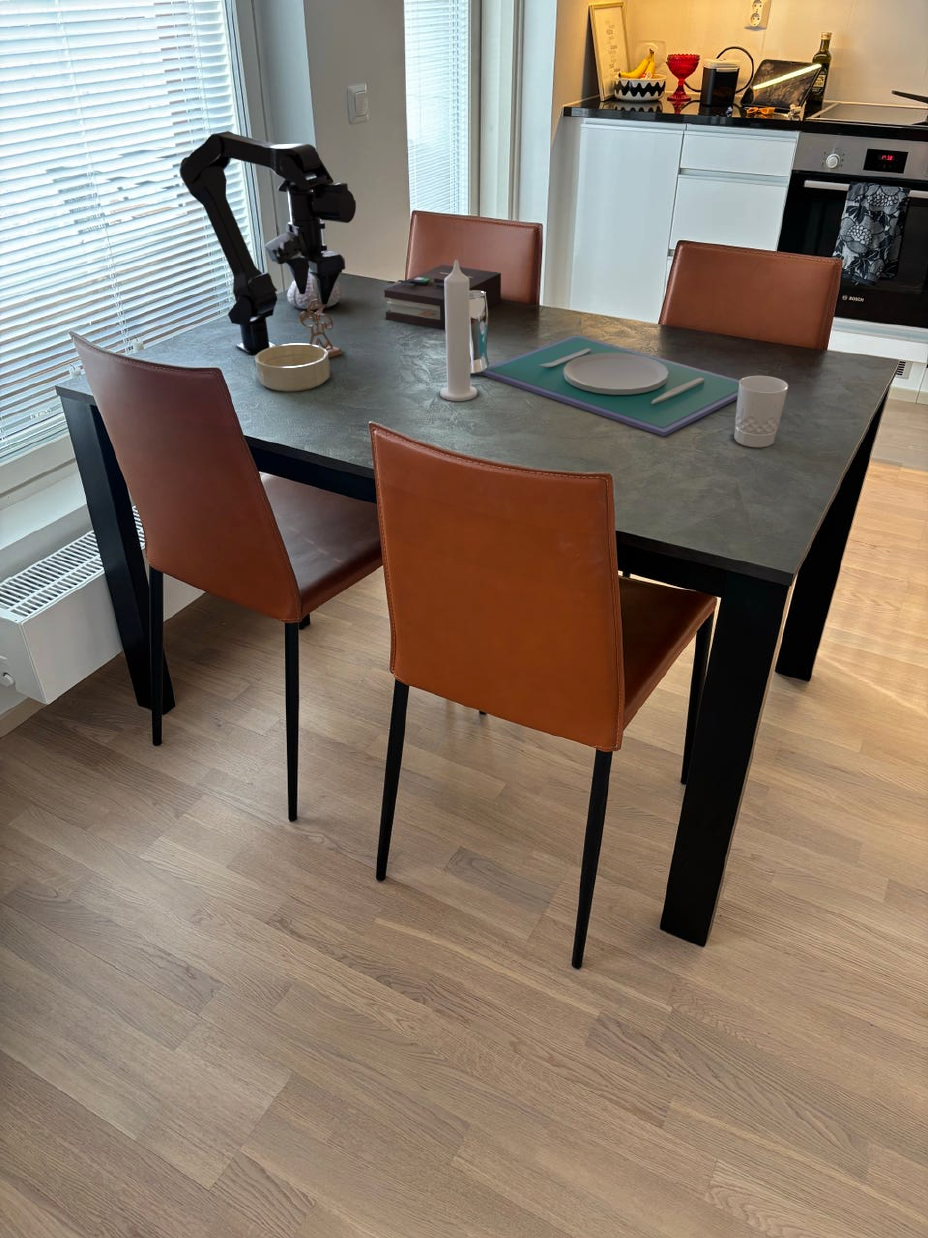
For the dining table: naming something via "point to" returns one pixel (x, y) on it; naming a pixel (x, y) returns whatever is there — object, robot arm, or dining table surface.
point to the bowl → (292, 367)
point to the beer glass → (478, 332)
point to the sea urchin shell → (312, 294)
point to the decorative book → (435, 295)
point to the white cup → (759, 410)
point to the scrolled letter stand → (330, 349)
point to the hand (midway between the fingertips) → (313, 298)
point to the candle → (457, 337)
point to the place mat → (619, 383)
